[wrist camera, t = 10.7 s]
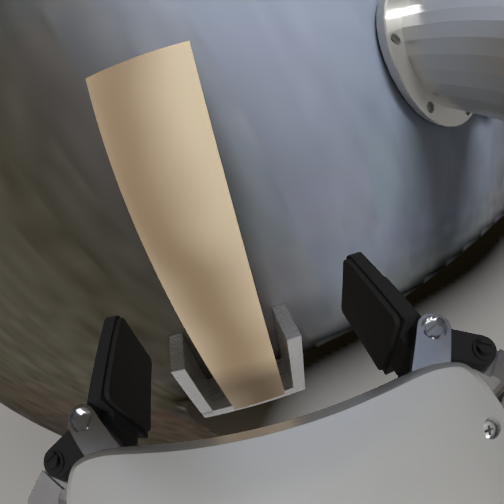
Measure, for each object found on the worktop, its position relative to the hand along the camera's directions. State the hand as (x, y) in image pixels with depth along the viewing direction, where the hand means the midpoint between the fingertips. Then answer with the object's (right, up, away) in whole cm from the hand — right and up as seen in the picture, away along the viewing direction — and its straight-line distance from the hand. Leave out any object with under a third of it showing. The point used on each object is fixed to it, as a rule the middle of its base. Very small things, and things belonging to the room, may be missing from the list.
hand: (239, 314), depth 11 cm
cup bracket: (-1, -5, +11) cm, 12 cm away
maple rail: (-2, +3, +6) cm, 7 cm away
